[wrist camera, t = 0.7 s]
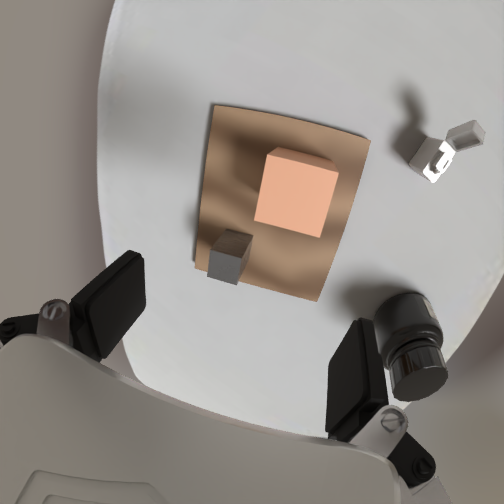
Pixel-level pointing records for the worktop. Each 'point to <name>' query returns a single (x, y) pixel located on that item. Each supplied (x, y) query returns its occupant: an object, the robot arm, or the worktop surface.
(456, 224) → the worktop surface
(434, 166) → the lighter
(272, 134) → the base board
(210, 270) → the post
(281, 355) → the worktop surface
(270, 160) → the salmon orange block
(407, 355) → the ink bottle
